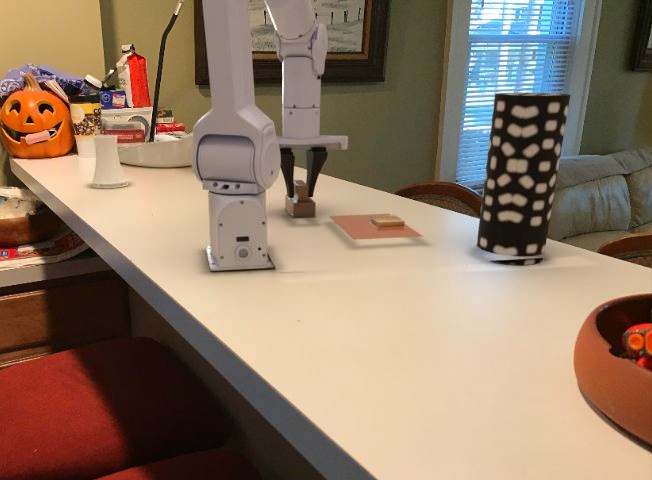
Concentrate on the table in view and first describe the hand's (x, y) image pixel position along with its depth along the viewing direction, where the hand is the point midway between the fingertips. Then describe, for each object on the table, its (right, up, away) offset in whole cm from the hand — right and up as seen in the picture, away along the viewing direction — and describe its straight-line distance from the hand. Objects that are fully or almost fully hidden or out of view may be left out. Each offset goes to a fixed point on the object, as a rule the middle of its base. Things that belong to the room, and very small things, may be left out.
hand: (300, 196), depth 97 cm
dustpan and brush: (-27, +17, +55) cm, 64 cm away
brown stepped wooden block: (0, -4, +1) cm, 4 cm away
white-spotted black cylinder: (+26, -11, -17) cm, 33 cm away
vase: (-38, +7, +31) cm, 50 cm away
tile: (+10, -7, -6) cm, 14 cm away
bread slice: (+13, -5, -6) cm, 15 cm away
